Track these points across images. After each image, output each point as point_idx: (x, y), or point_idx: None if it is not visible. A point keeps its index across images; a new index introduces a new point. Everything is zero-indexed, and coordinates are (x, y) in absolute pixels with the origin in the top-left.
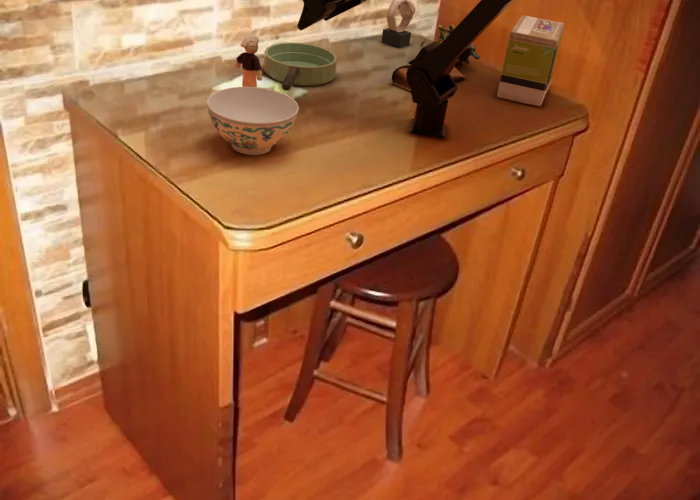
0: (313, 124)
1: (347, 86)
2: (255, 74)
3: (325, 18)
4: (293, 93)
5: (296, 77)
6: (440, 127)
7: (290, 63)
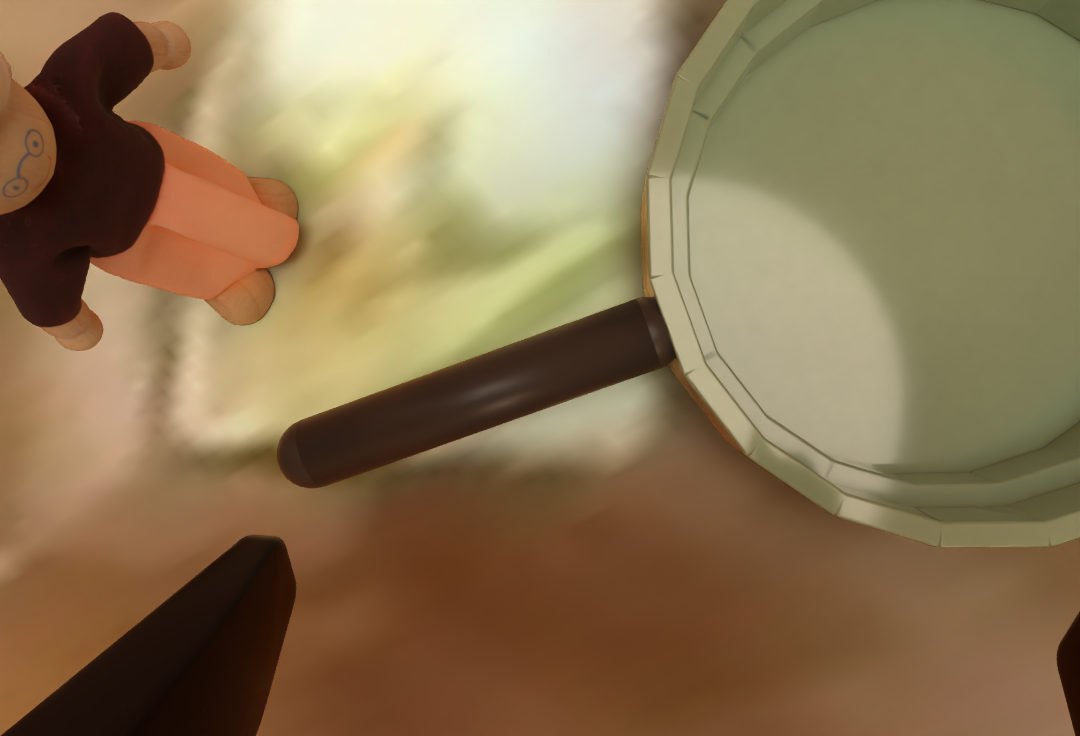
0: None
1: (931, 640)
2: (101, 268)
3: (1077, 673)
4: None
5: None
6: None
7: (1034, 88)
